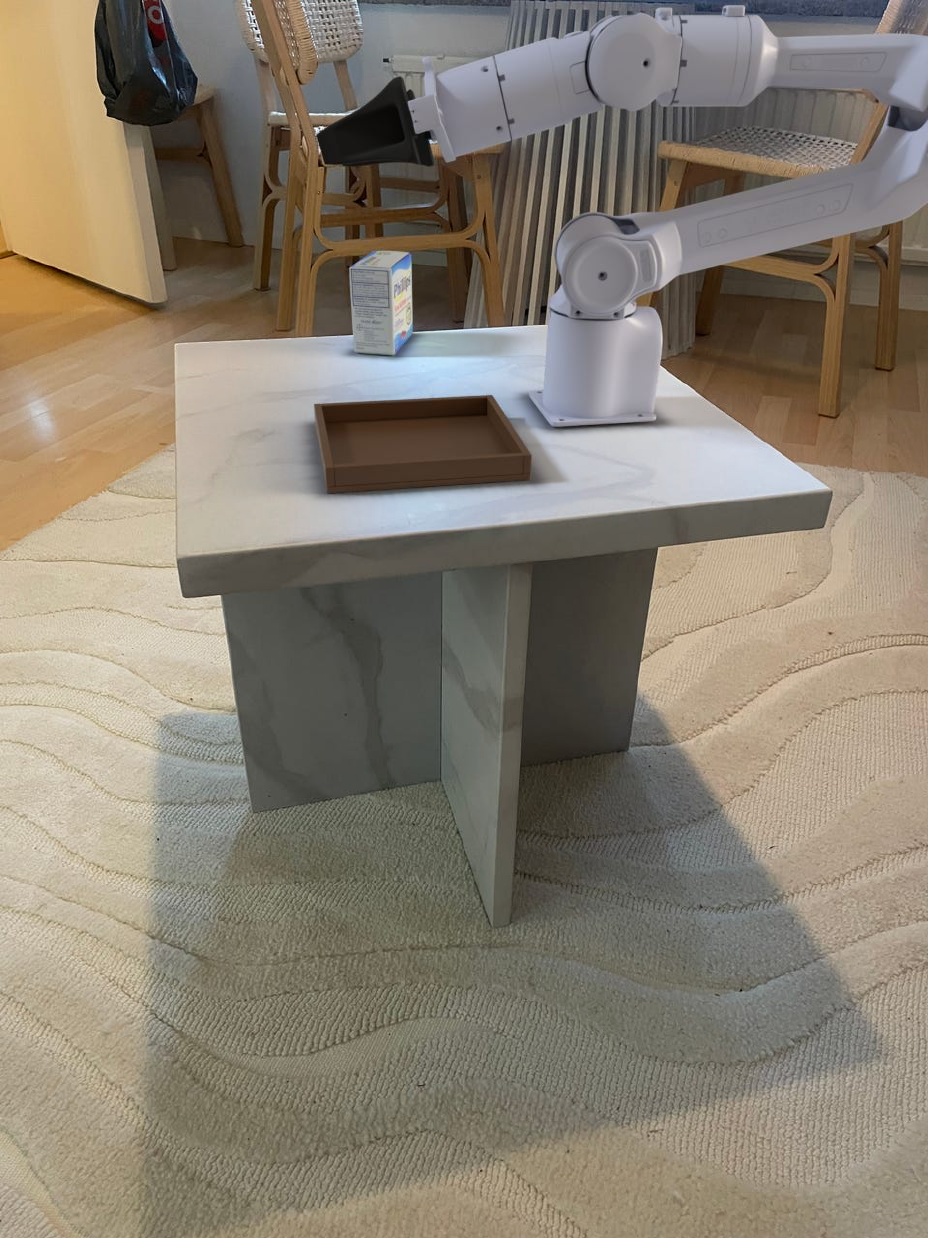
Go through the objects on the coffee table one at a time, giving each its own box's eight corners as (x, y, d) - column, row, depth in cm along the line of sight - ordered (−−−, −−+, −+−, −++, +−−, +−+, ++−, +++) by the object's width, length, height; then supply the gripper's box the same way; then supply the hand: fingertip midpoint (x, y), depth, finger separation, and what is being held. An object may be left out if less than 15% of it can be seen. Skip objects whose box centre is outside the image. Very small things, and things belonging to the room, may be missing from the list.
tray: (491, 416, 79) (492, 394, 78) (530, 479, 69) (532, 455, 68) (315, 426, 77) (313, 403, 76) (327, 493, 66) (325, 468, 65)
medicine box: (394, 356, 93) (392, 267, 88) (352, 353, 94) (348, 264, 89) (413, 335, 99) (412, 251, 95) (374, 332, 100) (371, 248, 95)
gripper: (491, 50, 73) (331, 101, 75) (486, 22, 60) (292, 83, 62) (512, 146, 76) (357, 192, 78) (511, 139, 63) (325, 194, 65)
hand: (330, 151), depth 70 cm, fingers open, 7 cm apart
